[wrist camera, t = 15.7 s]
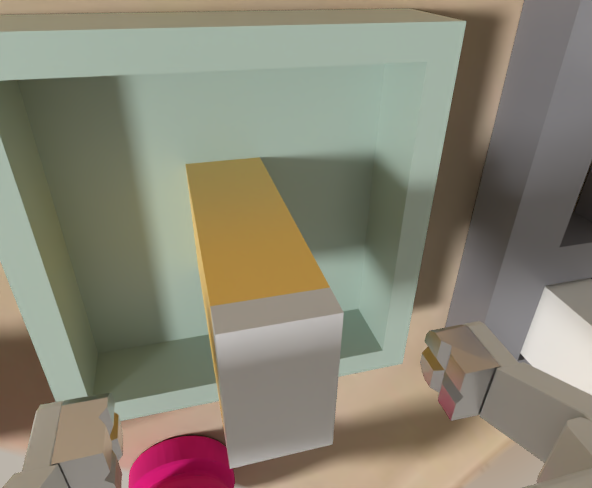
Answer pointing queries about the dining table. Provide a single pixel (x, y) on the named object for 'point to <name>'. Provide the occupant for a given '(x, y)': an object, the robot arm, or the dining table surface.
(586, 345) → the block
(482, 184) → the fuse block
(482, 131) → the dining table surface
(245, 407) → the block
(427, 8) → the dining table surface
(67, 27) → the tray
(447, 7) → the dining table surface
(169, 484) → the pepper mill
